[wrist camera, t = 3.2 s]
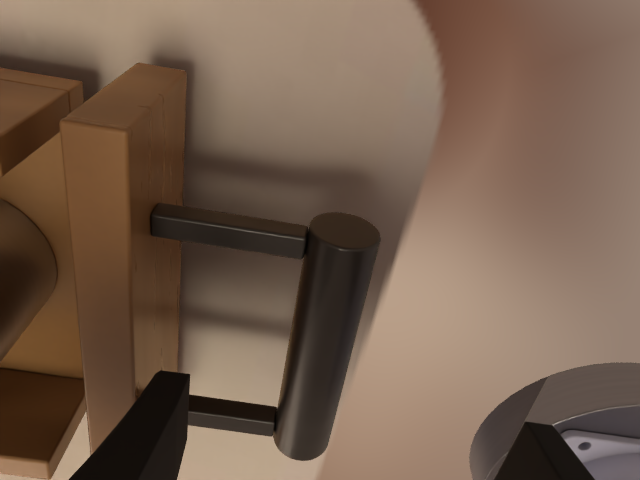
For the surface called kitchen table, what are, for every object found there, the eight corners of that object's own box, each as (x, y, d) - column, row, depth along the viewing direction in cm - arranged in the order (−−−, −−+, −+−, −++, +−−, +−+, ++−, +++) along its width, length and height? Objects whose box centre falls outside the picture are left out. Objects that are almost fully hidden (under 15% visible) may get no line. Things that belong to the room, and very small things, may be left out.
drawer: (393, 105, 13) (411, 178, 10) (320, 415, 19) (314, 533, 15) (-361, -24, 12) (-650, 4, 9) (-195, 343, 18) (-329, 451, 14)
